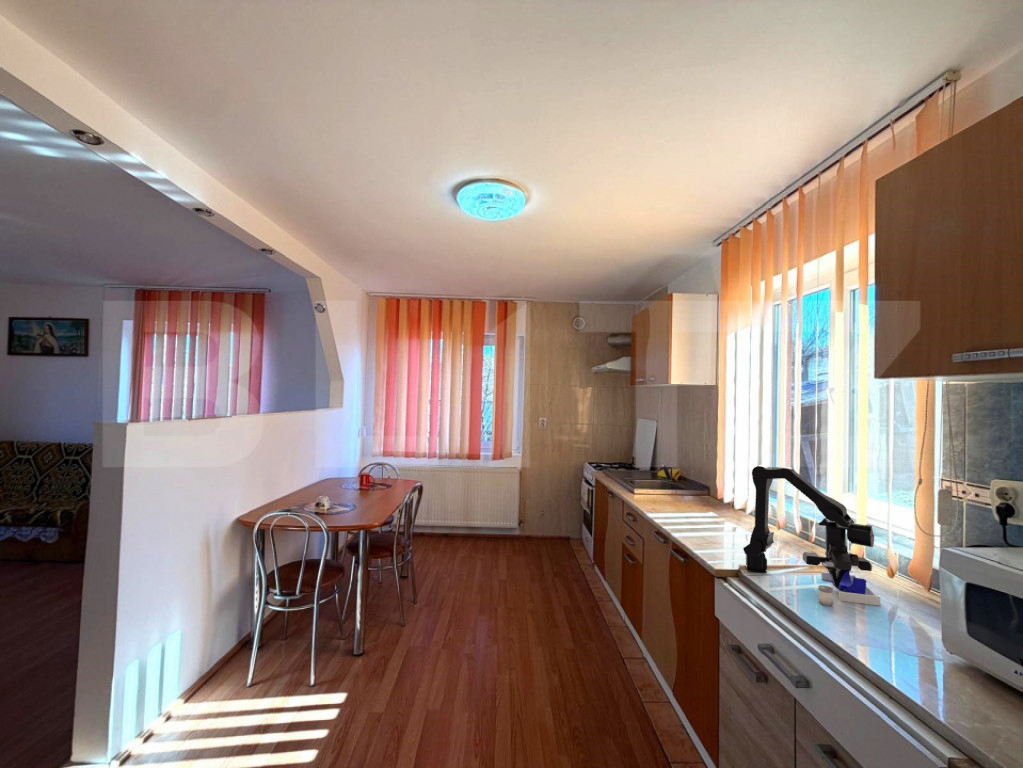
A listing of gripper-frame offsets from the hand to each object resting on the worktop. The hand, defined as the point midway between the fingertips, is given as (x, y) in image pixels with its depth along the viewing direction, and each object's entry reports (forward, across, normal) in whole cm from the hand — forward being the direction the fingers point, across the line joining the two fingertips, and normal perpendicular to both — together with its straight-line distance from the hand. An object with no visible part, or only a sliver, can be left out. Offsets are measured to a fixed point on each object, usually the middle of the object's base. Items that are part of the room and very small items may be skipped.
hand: (836, 586), depth 160 cm
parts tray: (+1, +3, 0) cm, 3 cm away
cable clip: (+1, +3, 0) cm, 4 cm away
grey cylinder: (+1, -7, -14) cm, 16 cm away
